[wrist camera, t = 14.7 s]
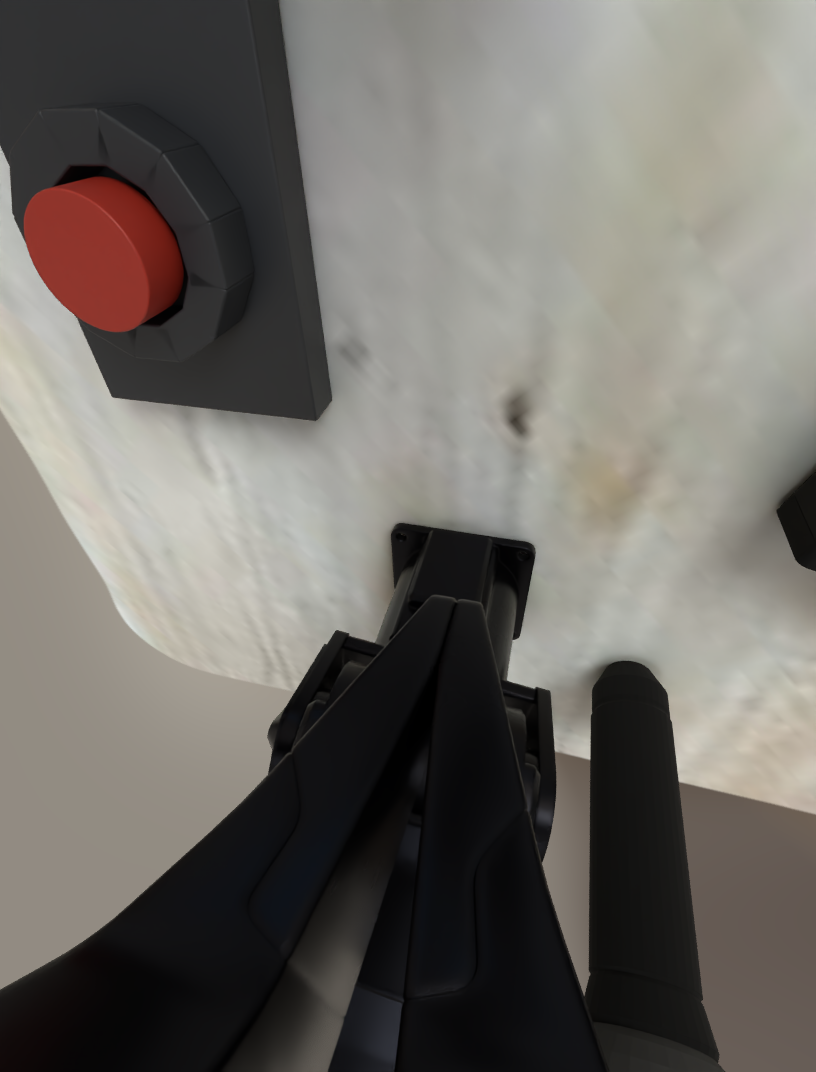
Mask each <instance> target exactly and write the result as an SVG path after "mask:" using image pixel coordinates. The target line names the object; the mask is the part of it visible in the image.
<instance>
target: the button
mask: <svg viewBox="0 0 816 1072" xmlns="http://www.w3.org/2000/svg"><path fill="white" fill-rule="evenodd" d="M24 235H25V240H26V245H27V248H28V251H29V254H30V257H31V259H32V261H33V264H34V266H35V268H36V270H37V272H38V273H39V275H40V277H41V278H42V280H43V281H44V283H45V284H46V286H47V287H48V288H49V290H50V291H51V292H52V293H53V295H54V296H55V297H56V298H57V299H58V300H59V301H60V302H61V303H62V304H63V305H64V306H65V307H66V308H67V309H68V310H69V311H70V312H72V313H73V314H74V315H76V316H77V317H78V318H80V319H81V320H83V321H84V322H86V323H88V324H90V325H92V326H94V327H96V328H99V329H102V330H105V331H110V332H126V331H130V330H132V329H134V328H136V327H138V326H139V325H141V324H143V323H144V322H146V321H148V320H149V319H151V318H153V317H154V316H156V315H158V314H159V313H161V312H162V311H164V310H166V309H167V308H169V307H171V306H172V305H173V304H174V303H175V301H176V300H177V299H178V297H179V295H180V292H181V289H182V286H183V278H184V269H183V261H182V257H181V253H180V249H179V246H178V243H177V241H176V239H175V237H174V234H173V232H172V231H171V229H170V227H169V225H168V224H167V222H166V221H165V219H164V217H163V216H162V215H161V213H160V212H159V211H158V210H157V208H156V207H155V206H154V205H153V204H152V203H151V202H150V201H149V200H148V199H147V198H146V197H145V196H144V195H142V194H141V193H140V192H139V191H137V190H136V189H134V188H133V187H131V186H129V185H128V184H126V183H124V182H122V181H119V180H117V179H114V178H110V177H103V176H97V177H91V178H87V179H83V180H79V181H75V182H71V183H67V184H63V185H59V186H55V187H51V188H47V189H44V190H42V191H40V192H38V193H37V194H36V195H35V196H33V197H32V199H31V200H30V202H29V203H28V205H27V208H26V211H25V215H24Z"/></svg>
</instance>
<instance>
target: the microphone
mask: <svg viewBox="0 0 816 1072" xmlns="http://www.w3.org/2000/svg"><path fill="white" fill-rule="evenodd" d="M590 779H591V780H590V885H589V886H590V887H589V888H590V889H589V972H590V973H591V975H590V976H589V980H588V984H587V988H586V992H585V996H584V998H585V1001H586V1004H587V1006H588V1009H589V1012H590V1015H591V1018H592V1021H593V1024H594V1027H595V1030H596V1033H597V1035H598V1038H599V1041H600V1044H601V1047H602V1050H603V1053H604V1056H605V1059H606V1062H607V1065H608V1067H609V1070H610V1072H725V1071H724V1070H723V1069H722V1067H721V1066H720V1065H719V1064H718V1060H719V1052H718V1049H717V1046H716V1043H715V1040H714V1037H713V1033H712V1030H711V1027H710V1024H709V1021H708V1018H707V1015H706V1012H705V1009H704V1006H703V1004H702V1003H701V1001H702V1000H703V996H702V987H701V978H700V969H699V961H698V951H697V943H696V933H695V924H694V915H693V906H692V898H691V889H690V880H689V871H688V862H687V853H686V844H685V835H684V827H683V818H682V809H681V800H680V791H679V782H678V773H677V764H676V755H675V746H674V737H673V728H672V722H671V720H670V712H669V703H668V695H667V692H666V690H665V689H664V688H663V686H662V685H661V684H660V683H659V681H658V680H657V679H656V678H655V676H654V675H653V674H652V673H651V671H650V670H649V669H648V668H647V667H645V666H644V665H642V664H639V663H636V662H631V661H621V662H616V663H613V664H611V665H609V666H608V667H607V668H606V670H605V671H604V672H603V674H602V675H601V677H600V678H599V679H598V681H597V682H596V683H595V685H594V687H593V689H592V715H591V759H590Z"/></svg>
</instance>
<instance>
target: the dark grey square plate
mask: <svg viewBox="0 0 816 1072" xmlns="http://www.w3.org/2000/svg"><path fill="white" fill-rule="evenodd" d="M0 146H1V148H2V150H3V153H4V155H5V157H6V159H7V162H8V164H9V166H10V178H11V196H12V213H13V215H14V219H15V221H16V223H17V225H18V227H19V230H20V232H21V234H22V236H23V238H24V240H25V235H24V215H25V211H26V208H27V205H28V203H29V202H30V200H31V199H32V197H33V196H35V195H36V194H37V193H38V192H40V191H42V190H44V189H47V188H51V187H55V186H59V185H63V184H67V183H71V182H75V181H79V180H83V179H87V178H91V177H97V176H103V177H110V178H114V179H117V180H119V181H122V182H124V183H126V184H128V185H129V186H131V187H133V188H134V189H136V190H137V191H139V192H140V193H141V194H142V195H144V196H145V197H146V198H147V199H148V200H149V201H150V202H151V203H152V204H153V205H154V206H155V207H156V208H157V210H158V211H159V212H160V213H161V215H162V216H163V217H164V219H165V221H166V222H167V224H168V225H169V227H170V229H171V231H172V232H173V234H174V237H175V239H176V241H177V243H178V246H179V249H180V253H181V257H182V261H183V269H184V278H183V286H182V289H181V292H180V295H179V297H178V299H177V300H176V301H175V303H174V304H173V305H172V306H171V307H169V308H167V309H166V310H164V311H162V312H161V313H159V314H158V315H156V316H154V317H153V318H151V319H149V320H148V321H146V322H144V323H143V324H141V325H139V326H138V327H136V328H134V329H132V330H130V331H126V332H110V331H105V330H102V329H99V328H96V327H94V326H92V325H90V324H88V323H86V322H84V321H83V320H81V319H80V318H78V317H77V316H76V315H75V316H76V317H77V319H78V321H79V324H80V326H81V328H82V330H83V333H84V335H85V337H86V339H87V342H88V344H89V346H90V348H91V351H92V353H93V355H94V357H95V360H96V362H97V364H98V366H99V369H100V371H101V373H102V375H103V378H104V380H105V382H106V385H107V387H108V389H109V391H110V394H111V396H112V397H113V398H122V399H130V400H139V401H148V402H156V403H165V404H174V405H182V406H191V407H200V408H209V409H217V410H226V411H235V412H243V413H252V414H261V415H270V416H278V417H287V418H296V419H304V420H313V421H316V420H317V419H318V418H319V417H320V415H321V414H322V413H323V411H324V410H325V409H326V407H327V406H328V405H329V403H330V402H331V401H332V395H331V388H330V381H329V373H328V366H327V358H326V351H325V344H324V336H323V329H322V322H321V314H320V307H319V300H318V292H317V285H316V278H315V270H314V263H313V256H312V248H311V241H310V234H309V226H308V219H307V212H306V204H305V197H304V189H303V182H302V175H301V167H300V160H299V153H298V145H297V138H296V131H295V123H294V116H293V109H292V101H291V94H290V87H289V79H288V72H287V65H286V57H285V50H284V42H283V35H282V28H281V20H280V13H279V6H278V0H0ZM25 242H26V240H25Z"/></svg>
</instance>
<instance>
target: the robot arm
mask: <svg viewBox="0 0 816 1072" xmlns="http://www.w3.org/2000/svg"><path fill="white" fill-rule="evenodd" d="M400 533H403V534H405V536H404V535H401V534H400ZM391 542H392V557H393V572H394V588H395V591H394V594H393V596H392V599H391V602H390V605H389V607H388V610H387V613H386V615H385V618H384V621H383V623H382V626H381V629H380V631H379V634H378V637H377V640H376V642H375V643H373V642H369V641H366V640H362V639H359V638H355V637H352V636H349V633H346V632H342V631H339V630H336V631H335V633H334V634H333V636H332V638H331V639H330V641H329V642H328V644H324V646H323V647H322V649H321V651H320V652H319V654H318V655H317V657H316V659H315V660H314V662H313V664H312V665H311V667H310V668H309V670H308V672H307V673H306V675H305V677H304V678H303V680H302V681H301V683H300V685H299V686H298V688H297V690H296V691H295V693H294V694H293V696H292V698H291V699H290V701H289V703H288V704H287V706H286V707H285V708H284V710H283V711H282V712H281V713H280V714H279V715H278V716H277V717H276V719H275V720H274V721H273V722H272V724H271V726H270V728H269V731H268V740H269V743H270V745H271V748H272V750H273V751H272V756H271V762H270V767H269V773H268V776H266V778H264V779H263V781H262V782H261V783H260V784H259V785H258V786H257V787H256V788H255V789H254V790H253V791H252V792H251V793H250V794H249V795H248V796H247V797H246V798H245V799H244V800H243V801H242V802H241V804H239V805H238V806H237V807H236V808H235V809H234V810H233V811H232V812H231V813H230V814H229V815H228V816H227V817H225V818H224V819H223V820H222V821H221V822H220V823H219V824H218V825H217V826H216V827H215V828H214V829H213V830H212V831H211V832H210V833H208V834H207V835H206V836H205V837H204V838H203V839H202V840H201V841H200V842H199V843H197V844H196V845H195V846H194V847H193V848H192V849H191V850H190V851H189V852H188V853H186V854H185V855H184V856H183V857H182V858H181V859H180V860H179V861H178V862H176V863H175V864H174V865H173V866H172V867H171V868H170V869H169V870H167V871H166V872H165V873H164V874H163V875H162V876H161V877H160V878H159V879H158V880H156V881H155V882H154V883H153V884H152V885H151V886H150V887H149V888H148V889H147V890H145V891H144V892H143V893H142V894H141V895H140V896H139V897H137V898H136V899H135V900H134V901H133V902H132V903H131V904H130V905H129V906H127V907H126V908H125V909H124V910H123V911H122V912H121V913H119V914H118V915H117V916H116V917H115V918H114V919H112V920H111V921H110V922H109V923H107V924H106V925H105V926H104V927H102V928H101V929H100V930H99V931H97V932H96V933H94V934H93V935H92V936H90V937H89V938H87V939H86V940H85V941H83V942H82V943H80V944H79V945H77V946H75V947H74V948H73V949H71V950H69V951H68V952H66V953H65V954H63V955H61V956H59V957H58V958H56V959H54V960H52V961H51V962H49V963H47V964H45V965H44V966H42V967H40V968H38V969H36V970H35V971H33V972H31V973H29V974H28V975H26V976H24V977H22V978H20V979H18V980H17V981H15V982H13V983H11V984H9V985H8V986H6V987H4V988H2V989H1V990H0V1072H610V1070H609V1067H608V1065H607V1062H606V1059H605V1056H604V1053H603V1050H602V1047H601V1044H600V1041H599V1038H598V1035H597V1033H596V1030H595V1027H594V1024H593V1021H592V1018H591V1015H590V1012H589V1009H588V1006H587V1004H586V1001H585V998H584V995H583V992H582V989H581V986H580V983H579V981H578V977H577V975H576V972H575V969H574V966H573V963H572V960H571V957H570V954H569V951H568V948H567V946H566V943H565V940H564V937H563V933H562V930H561V927H560V924H559V921H558V918H557V915H556V911H555V908H554V905H553V902H552V899H551V895H550V892H549V889H548V885H547V881H546V878H545V874H544V870H543V866H542V862H543V859H544V856H545V853H546V849H547V846H548V842H549V838H550V834H551V829H552V823H553V817H554V809H555V801H556V800H555V799H556V765H555V750H554V736H553V722H552V707H551V693H550V691H549V690H545V689H542V688H538V687H536V688H535V689H533V688H530V687H526V686H523V685H520V684H516V683H513V682H509V681H507V675H508V668H509V661H510V653H511V646H512V640H515V639H517V638H519V636H520V633H521V628H522V623H523V617H524V612H525V607H526V602H527V596H528V591H529V586H530V581H531V576H532V570H533V565H534V560H535V553H536V551H535V547H534V546H533V545H532V544H530V543H528V542H523V541H517V540H510V539H504V538H497V537H490V536H484V535H477V534H471V533H464V532H458V531H451V530H444V529H438V528H431V527H425V526H418V525H412V524H405V523H399V524H396V525H395V526H394V528H393V531H392V533H391ZM520 552H525V553H527V554H521V553H520Z"/></svg>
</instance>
